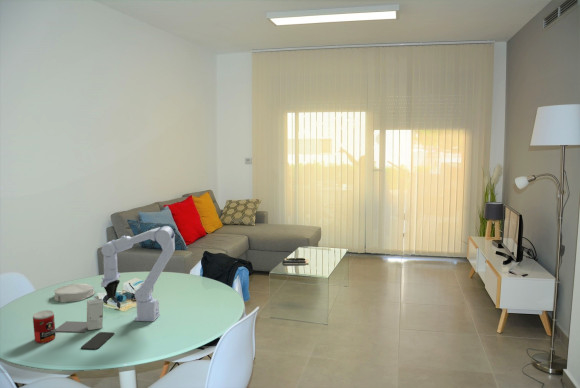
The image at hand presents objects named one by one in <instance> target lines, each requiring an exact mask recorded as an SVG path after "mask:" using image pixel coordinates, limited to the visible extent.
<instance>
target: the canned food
mask: <svg viewBox="0 0 580 388" xmlns="http://www.w3.org/2000/svg"><path fill="white" fill-rule="evenodd" d="M32 324H33V325H32V326H33V334H34V340H35V342H36V343H37V344H46V343H49V342H52V341H53V340H55V338H56V332H55V329H56V326H55V325H56V321H55V313H54V310H40V311H38V312H35V313H33V314H32Z"/></svg>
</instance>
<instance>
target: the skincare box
mask: <svg viewBox="0 0 580 388" xmlns="http://www.w3.org/2000/svg"><path fill="white" fill-rule="evenodd" d="M86 302H87V303H86V322H87V329H88V330H87V331H92V330H98V329H103V325H104V323H103V320H104V317H103V316H104V300H102V298H94V299H87V300H86Z"/></svg>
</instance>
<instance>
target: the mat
mask: <svg viewBox="0 0 580 388" xmlns="http://www.w3.org/2000/svg"><path fill="white" fill-rule="evenodd" d="M87 331H89V330H88V329H87V321H74V320H73V321H68V320H67V321H65V322H63V323H62V324H61V325H59V326H58V327H57V328H56V327H55V333H78V334H79V333H80V334H81V333H86V332H87Z"/></svg>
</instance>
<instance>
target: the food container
mask: <svg viewBox="0 0 580 388" xmlns="http://www.w3.org/2000/svg"><path fill="white" fill-rule="evenodd" d="M95 293H96V292H95V289H94V286H93V285H90V284H87V283H72V284H66V285H62V286H59V287H58V288H56V289H55V290H54V298H53V299H54V300H55V301H56V302H61V303H67V302H77V301H78V302H79V301H82V300H85V299H88V298H89V297H92V296H93V295H95Z"/></svg>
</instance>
